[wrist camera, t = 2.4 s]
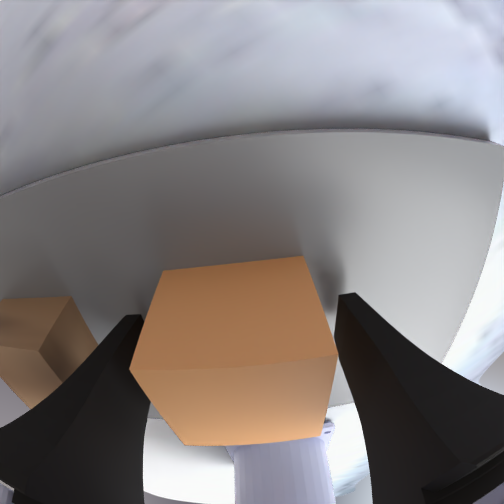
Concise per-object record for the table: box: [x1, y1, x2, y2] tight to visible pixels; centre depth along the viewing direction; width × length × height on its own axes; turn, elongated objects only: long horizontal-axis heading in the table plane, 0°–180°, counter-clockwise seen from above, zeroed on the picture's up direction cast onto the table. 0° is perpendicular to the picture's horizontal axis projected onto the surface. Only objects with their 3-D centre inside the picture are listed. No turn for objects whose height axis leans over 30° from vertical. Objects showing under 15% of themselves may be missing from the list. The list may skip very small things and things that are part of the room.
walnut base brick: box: [0, 296, 98, 409], centre depth 9 cm, size 5×5×3 cm
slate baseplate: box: [0, 129, 504, 419], centre depth 11 cm, size 14×24×1 cm, turn 96°
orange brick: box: [129, 256, 338, 446], centre depth 8 cm, size 4×4×4 cm
